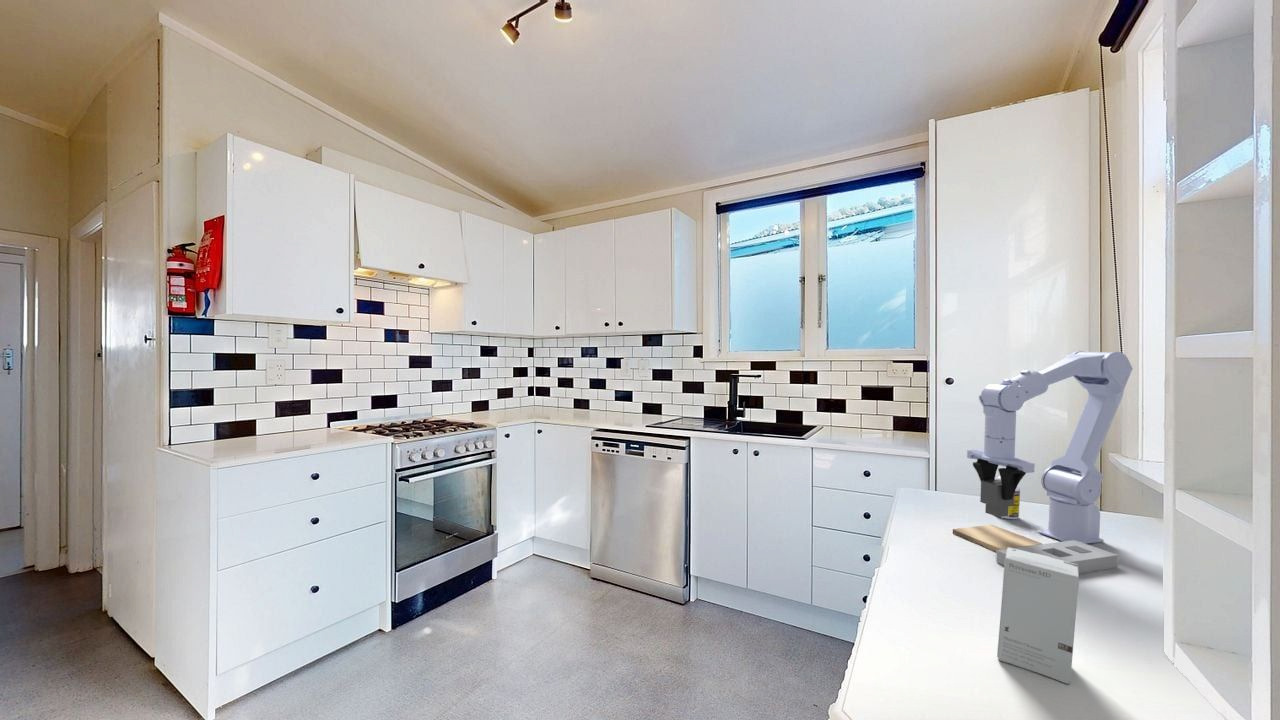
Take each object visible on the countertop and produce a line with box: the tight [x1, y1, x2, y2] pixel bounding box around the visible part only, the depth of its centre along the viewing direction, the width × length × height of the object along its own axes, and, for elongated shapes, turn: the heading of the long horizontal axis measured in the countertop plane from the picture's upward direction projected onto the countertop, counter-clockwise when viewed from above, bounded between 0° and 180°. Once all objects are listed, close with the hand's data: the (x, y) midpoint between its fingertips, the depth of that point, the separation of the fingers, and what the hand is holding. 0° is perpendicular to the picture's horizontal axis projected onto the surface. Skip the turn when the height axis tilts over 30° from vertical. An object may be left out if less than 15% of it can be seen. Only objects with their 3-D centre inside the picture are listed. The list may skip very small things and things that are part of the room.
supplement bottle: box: [997, 475, 1021, 520], centre depth 132 cm, size 6×6×10 cm
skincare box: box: [996, 548, 1080, 685], centre depth 71 cm, size 8×6×15 cm
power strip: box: [995, 540, 1119, 574], centre depth 103 cm, size 22×8×3 cm, turn 106°
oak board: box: [952, 524, 1043, 553], centre depth 116 cm, size 12×12×1 cm
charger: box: [979, 478, 1014, 518], centre depth 115 cm, size 5×4×8 cm
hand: (997, 496), depth 115 cm, fingers closed on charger, 4 cm apart
